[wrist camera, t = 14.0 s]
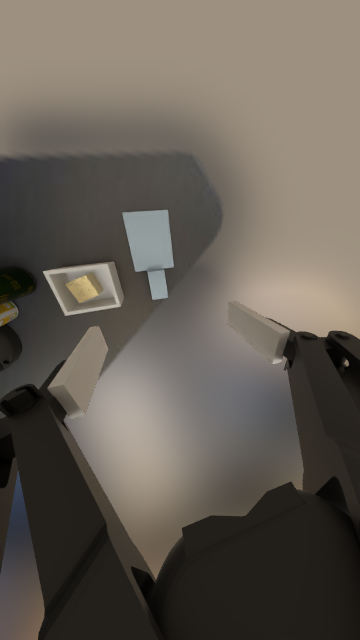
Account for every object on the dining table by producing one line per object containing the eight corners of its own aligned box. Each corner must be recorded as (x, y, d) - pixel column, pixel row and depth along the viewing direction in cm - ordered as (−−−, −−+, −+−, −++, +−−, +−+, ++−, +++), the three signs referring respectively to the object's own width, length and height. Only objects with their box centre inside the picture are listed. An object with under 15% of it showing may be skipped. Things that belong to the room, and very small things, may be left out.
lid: (122, 213, 27) (119, 208, 24) (167, 210, 29) (169, 205, 25) (141, 297, 35) (141, 301, 32) (175, 291, 36) (178, 295, 33)
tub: (78, 304, 32) (65, 315, 27) (61, 267, 28) (42, 271, 23) (124, 297, 34) (120, 306, 28) (113, 261, 30) (107, 263, 25)
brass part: (87, 297, 31) (79, 303, 28) (74, 280, 29) (64, 284, 26) (104, 289, 31) (98, 294, 28) (92, 272, 29) (85, 275, 26)
